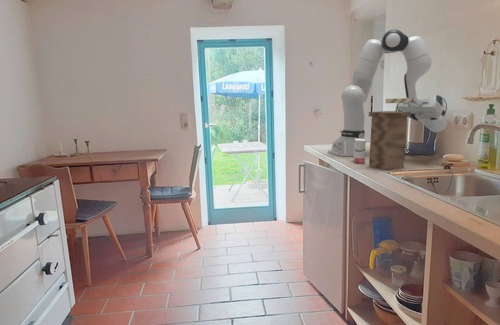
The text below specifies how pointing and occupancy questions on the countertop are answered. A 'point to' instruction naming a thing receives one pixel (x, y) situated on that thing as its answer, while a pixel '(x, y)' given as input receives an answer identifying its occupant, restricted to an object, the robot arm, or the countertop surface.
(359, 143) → the ink box
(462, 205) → the countertop surface
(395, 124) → the wooden canister
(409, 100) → the stick
